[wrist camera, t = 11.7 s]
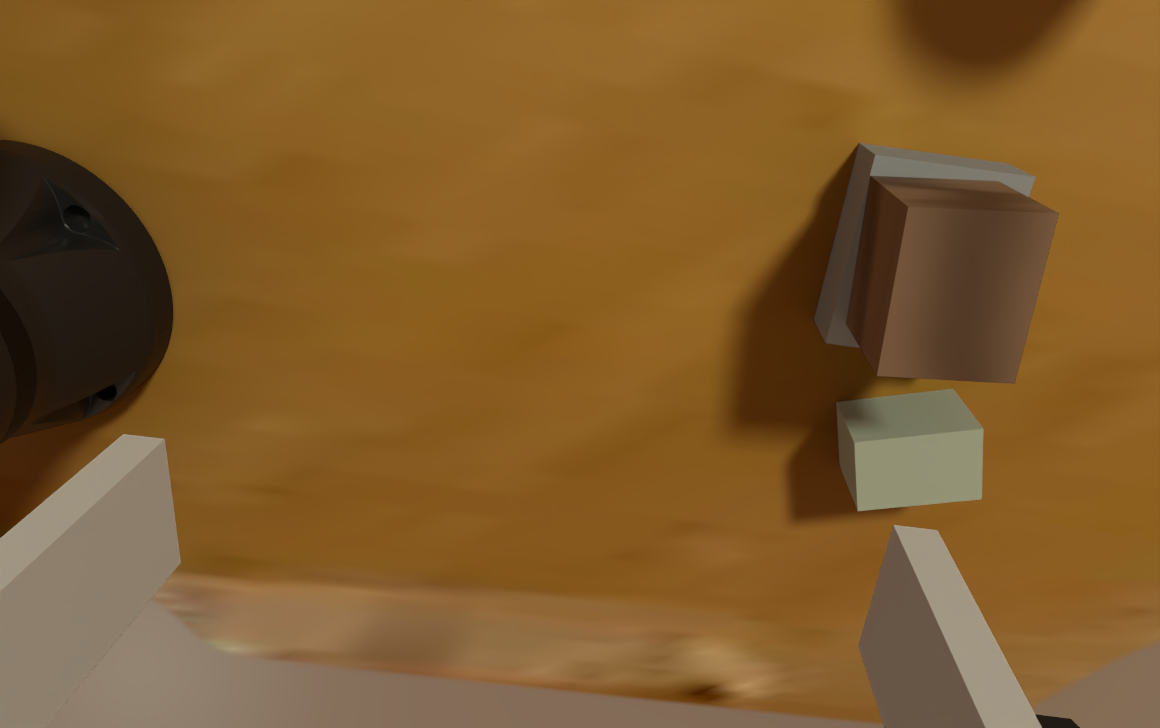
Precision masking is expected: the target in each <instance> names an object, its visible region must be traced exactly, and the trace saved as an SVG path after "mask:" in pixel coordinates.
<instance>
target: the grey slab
mask: <svg viewBox="0 0 1160 728" xmlns="http://www.w3.org/2000/svg"><path fill="white" fill-rule="evenodd" d="M870 176H890V177H915V178H939V179H963V180H987V181H999V182H1001V183H1003V184H1005V185H1007V186H1009V187H1010V188H1012V189H1014V190H1016V191H1018V192H1020V193H1022V194H1024V195H1025V196H1027V197H1029V195H1030V192H1031V189H1032V186H1033V183H1034V180H1035V176H1032V175H1030V174H1028V173H1026V172H1024V171H1022V170H1020V169H1018V168H1016V167H1014V166H1012V165H1010V164H1007V163H1000V162H993V161H985V160H978V159H971V158H964V157H957V156H949V155H942V154H935V153H928V152H921V151H913V150H906V149H899V148H892V147H884V146H877V145H870V144H863V143H859V145H858V149H857V153H856V157H855V161H854V165H853V169H852V173H851V177H850V181H849V184H848V188H847V192H846V196H845V200H844V204H843V208H842V212H841V216H840V220H839V223H838V227H837V231H836V235H835V239H834V243H833V247H832V251H831V255H830V259H829V262H828V266H827V270H826V274H825V278H824V282H823V286H822V290H821V294H820V298H819V301H818V305H817V309H816V313H815V317H814V321H815V323H816V325H817V327H818V329H819V331H820V333H821V335H822V337H823V339H824V341H825V343H827V344H834V345H841V346H849V347H856V348H860V347H859V345H858V344H857V342H856V340H855V339H854V337H853V335H852V334H851V332H850V330H849V329H848V327H847V325H846V319H847V313H848V307H849V301H850V295H851V289H852V283H853V277H854V271H855V265H856V259H857V253H858V246H859V240H860V234H861V228H862V222H863V216H864V210H865V204H866V198H867V192H868V186H869V180H870Z"/></svg>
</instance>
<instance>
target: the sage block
mask: <svg viewBox="0 0 1160 728" xmlns="http://www.w3.org/2000/svg"><path fill="white" fill-rule="evenodd" d="M836 408H837V426H838V444H839V462H840V468H841V471H842V473H843V476H844V478H845V481H846V483H847V486H848V488H849V491H850V493H851V496H852V498H853V501H854V503H855V506H856V508H857V511H865V510H875V509H886V508H896V507H906V506H917V505H927V504H937V503H948V502H958V501H968V500H979V499H982V466H983V428H982V426H981V425H980V424H979V422H978V421H977V420H976V418H975V417H974V416H973V414H972V413H971V412H970V410H969V409H968V408H967V406H966V405H965V404H964V402H963V401H962V400H961V399H960V397H959V396H958V395H957V393H956V392H955V391H954V389H947V390H938V391H930V392H921V393H912V394H903V395H895V396H886V397H877V398H868V399H859V400H851V401H842V402H836Z"/></svg>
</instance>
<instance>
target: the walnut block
mask: <svg viewBox="0 0 1160 728" xmlns="http://www.w3.org/2000/svg"><path fill="white" fill-rule="evenodd" d="M1058 215H1059V213H1057V212H1055V211H1054V210H1052V209H1050V208H1048V207H1046V206H1044V205H1042V204H1040V203H1039V202H1037V201H1035V200H1033V199H1031V198H1029V197H1027V196H1025V195H1024V194H1022V193H1020V192H1018V191H1016V190H1014V189H1012V188H1010V187H1009V186H1007V185H1005V184H1003V183H1001V182H999V181H987V180H963V179H939V178H915V177H890V176H870V180H869V186H868V192H867V198H866V204H865V210H864V216H863V222H862V228H861V234H860V240H859V246H858V253H857V259H856V265H855V271H854V277H853V283H852V289H851V295H850V301H849V307H848V313H847V319H846V325H847V327H848V329H849V330H850V332H851V334H852V335H853V337H854V339H855V340H856V342H857V344H858V345H859V347H860V349H861V350H862V352H863V354H864V355H865V357H866V359H867V360H868V362H869V364H870V365H871V367H872V369H873V370H874V372H875V374H876V375H877V376H884V377H903V378H921V379H939V380H957V381H975V382H993V383H1011V384H1015V381H1016V377H1017V373H1018V369H1019V365H1020V362H1021V358H1022V354H1023V350H1024V346H1025V342H1026V338H1027V335H1028V331H1029V327H1030V323H1031V319H1032V315H1033V312H1034V308H1035V304H1036V300H1037V296H1038V292H1039V288H1040V285H1041V281H1042V277H1043V273H1044V269H1045V265H1046V261H1047V258H1048V254H1049V250H1050V246H1051V242H1052V238H1053V234H1054V231H1055V227H1056V223H1057V219H1058Z"/></svg>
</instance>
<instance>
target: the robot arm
mask: <svg viewBox="0 0 1160 728" xmlns="http://www.w3.org/2000/svg"><path fill="white" fill-rule="evenodd" d="M172 320H173V304H172V295H171V288H170V284H169V279H168V276H167V272H166V269H165V266H164V264H163V261H162V258H161V256H160V254H159V252H158V249H157V247H156V245H155V243H154V242H153V240H152V238H151V236H150V235H149V233H148V231H147V230H146V228H145V227H144V225H143V224H142V222H141V221H140V220H139V218H138V217H137V216H136V214H135V213H134V212H133V211H132V209H131V208H130V207H129V206H128V205H127V204H126V203H125V201H124V200H123V199H122V198H121V197H120V196H119V195H118V194H117V193H116V192H115V191H114V190H112V189H111V188H110V187H109V186H108V185H107V184H106V183H104V182H103V181H102V180H101V179H99V178H98V177H97V176H95V175H94V174H93V173H91V172H90V171H88V170H87V169H85V168H84V167H82V166H80V165H79V164H77V163H75V162H73V161H72V160H70V159H68V158H66V157H64V156H62V155H59V154H57V153H55V152H52V151H50V150H47V149H44V148H41V147H38V146H35V145H31V144H27V143H22V142H16V141H10V140H0V444H1V443H3V442H4V441H5V440H7V439H8V438H11V437H15V436H19V435H23V434H27V433H31V432H35V431H39V430H43V429H47V428H51V427H55V426H59V425H63V424H67V423H71V422H75V421H79V420H83V419H86V418H89V417H92V416H94V415H97V414H99V413H101V412H103V411H105V410H107V409H109V408H111V407H112V406H114V405H115V404H117V403H118V402H119V401H121V400H122V399H123V398H125V397H126V396H127V395H129V394H130V393H131V392H133V391H134V390H135V389H136V388H138V387H139V386H140V385H141V384H143V383H144V382H145V381H146V380H147V379H148V378H149V377H150V376H151V374H152V373H153V372H154V371H155V369H156V368H157V366H158V365H159V363H160V361H161V360H162V358H163V356H164V353H165V351H166V348H167V346H168V343H169V339H170V335H171V329H172ZM180 563H181V561H180V553H179V545H178V538H177V530H176V522H175V515H174V507H173V499H172V492H171V484H170V476H169V469H168V461H167V453H166V446H165V439H160V438H152V437H143V436H135V435H126V434H123V435H122V436H121V437H119V438H118V439H117V440H116V441H115V442H114V443H112V444H111V445H110V446H109V447H108V448H106V449H105V450H104V451H103V452H102V453H101V454H99V455H98V456H97V457H96V458H95V459H93V460H92V461H91V462H90V463H89V464H88V465H86V466H85V467H84V468H83V469H82V470H80V471H79V472H78V473H77V474H76V475H74V476H73V477H72V478H71V479H70V480H69V481H67V482H66V483H65V484H64V485H63V486H61V487H60V488H59V489H58V490H57V491H56V492H54V493H53V494H52V495H51V496H50V497H48V498H47V499H46V500H45V501H44V502H43V503H41V504H40V505H39V506H38V507H37V508H35V509H34V510H33V511H32V512H31V513H30V514H28V515H27V516H26V517H25V518H24V519H22V520H21V521H20V522H19V523H18V524H17V525H15V526H14V527H13V528H12V529H11V530H9V531H8V532H7V533H6V534H5V535H4V536H2V537H1V538H0V728H46V726H47V725H48V724H49V723H50V721H51V720H52V719H53V718H54V717H55V715H56V714H57V713H58V712H59V711H60V709H61V708H62V707H63V706H64V704H65V703H66V702H67V701H68V700H69V698H70V697H71V696H72V695H73V693H74V692H75V691H76V690H77V689H78V687H79V686H80V685H81V684H82V682H83V681H84V680H85V679H86V678H87V676H88V675H89V674H90V673H91V671H92V670H93V669H94V667H96V665H97V664H98V663H99V662H100V660H101V659H102V658H103V657H104V656H105V654H106V653H107V652H108V651H109V649H110V648H111V647H112V646H113V644H114V643H115V642H116V641H117V640H118V638H119V637H120V636H121V635H122V634H123V632H124V631H125V630H126V628H127V627H128V626H129V625H130V624H131V623H132V621H133V620H134V619H135V618H136V617H137V615H138V614H139V613H140V612H141V610H142V609H143V608H144V607H145V605H146V604H147V603H148V602H149V601H150V599H151V598H152V597H153V596H154V595H155V593H156V592H157V591H158V590H159V588H160V587H161V586H162V585H163V584H164V582H165V581H166V580H167V579H168V577H169V576H170V575H171V574H172V573H173V571H174V570H175V569H176V568H177V566H178V565H179V564H180ZM858 646H859V649H860V653H861V656H862V659H863V662H864V665H865V668H866V672H867V675H868V678H869V681H870V684H871V687H872V691H873V694H874V697H875V700H876V703H877V706H878V710H879V713H880V716H881V719H882V722H883V725H884V728H1080V727H1079V726H1077V725H1076V724H1075V723H1074V722H1073V721H1072V720H1071V719H1067V718H1059V717H1051V716H1043V715H1035V714H1034V712H1033V710H1032V708H1031V706H1030V704H1029V702H1028V700H1027V698H1026V697H1025V695H1024V693H1023V691H1022V689H1021V687H1020V685H1019V683H1018V681H1017V680H1016V678H1015V676H1014V674H1013V672H1012V670H1011V668H1010V666H1009V664H1008V663H1007V661H1006V659H1005V657H1004V655H1003V653H1002V651H1001V649H1000V647H999V646H998V644H997V642H996V640H995V638H994V636H993V634H992V632H991V631H990V629H989V627H988V625H987V623H986V621H985V619H984V617H983V615H982V614H981V612H980V610H979V608H978V606H977V604H976V602H975V600H974V598H973V597H972V595H971V593H970V591H969V589H968V587H967V585H966V583H965V581H964V580H963V578H962V576H961V574H960V572H959V570H958V568H957V566H956V564H955V563H954V561H953V559H952V557H951V555H950V553H949V551H948V549H947V547H946V546H945V544H944V542H943V540H942V538H941V536H940V534H939V532H938V530H931V529H923V528H914V527H906V526H897V525H893V529H892V532H891V535H890V539H889V542H888V546H887V549H886V552H885V556H884V559H883V563H882V566H881V570H880V573H879V576H878V580H877V583H876V587H875V590H874V594H873V597H872V600H871V604H870V607H869V611H868V614H867V618H866V621H865V624H864V628H863V631H862V635H861V638H860V642H859V645H858Z"/></svg>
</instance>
